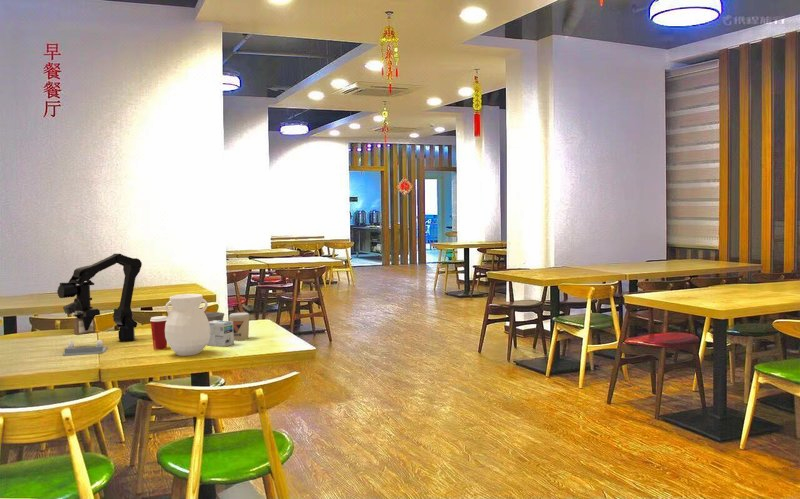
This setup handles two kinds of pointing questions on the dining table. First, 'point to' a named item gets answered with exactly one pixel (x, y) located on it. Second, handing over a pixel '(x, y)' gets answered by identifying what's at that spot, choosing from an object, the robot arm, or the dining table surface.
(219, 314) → the bowl
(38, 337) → the dining table surface
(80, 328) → the brown box shape
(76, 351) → the wall panel
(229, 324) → the light bulb box
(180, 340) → the white vase
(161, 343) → the paper cup
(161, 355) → the dining table surface
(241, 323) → the coffee cup
